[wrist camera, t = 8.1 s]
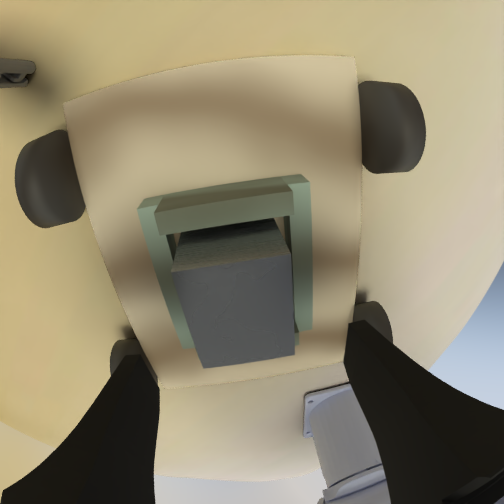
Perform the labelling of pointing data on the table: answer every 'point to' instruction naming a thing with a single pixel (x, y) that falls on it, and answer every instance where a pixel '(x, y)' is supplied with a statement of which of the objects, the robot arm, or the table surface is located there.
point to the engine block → (236, 292)
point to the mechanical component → (15, 72)
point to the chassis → (226, 190)
